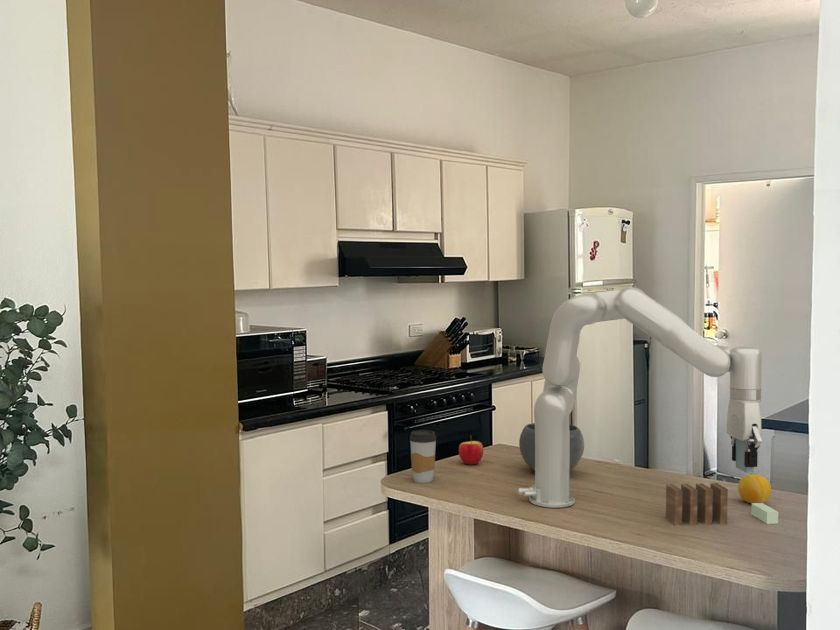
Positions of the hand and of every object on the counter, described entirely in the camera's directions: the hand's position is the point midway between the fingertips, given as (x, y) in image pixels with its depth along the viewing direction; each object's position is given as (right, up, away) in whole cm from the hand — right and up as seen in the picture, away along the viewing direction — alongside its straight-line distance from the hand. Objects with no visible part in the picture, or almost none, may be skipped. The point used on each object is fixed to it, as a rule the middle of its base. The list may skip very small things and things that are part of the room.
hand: (744, 463), depth 207 cm
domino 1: (-19, -15, -1) cm, 24 cm away
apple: (-67, -12, +61) cm, 92 cm away
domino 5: (0, -2, 0) cm, 2 cm away
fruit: (+9, -14, +16) cm, 23 cm away
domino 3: (-11, -15, 0) cm, 18 cm away
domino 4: (-7, -15, 0) cm, 16 cm away
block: (+6, -15, +1) cm, 16 cm away
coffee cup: (-83, -13, +40) cm, 93 cm away
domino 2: (-15, -15, 0) cm, 21 cm away
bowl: (-42, -12, +49) cm, 66 cm away
